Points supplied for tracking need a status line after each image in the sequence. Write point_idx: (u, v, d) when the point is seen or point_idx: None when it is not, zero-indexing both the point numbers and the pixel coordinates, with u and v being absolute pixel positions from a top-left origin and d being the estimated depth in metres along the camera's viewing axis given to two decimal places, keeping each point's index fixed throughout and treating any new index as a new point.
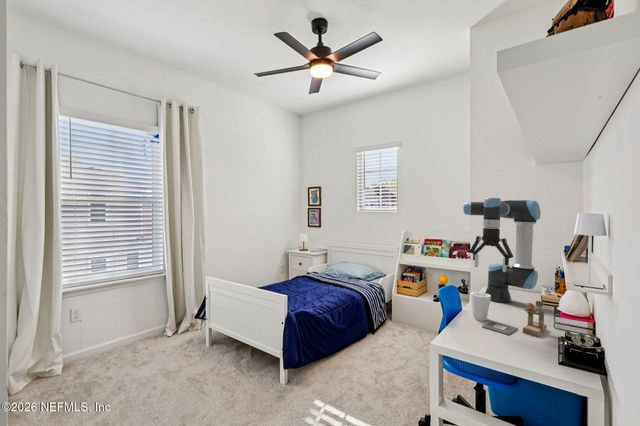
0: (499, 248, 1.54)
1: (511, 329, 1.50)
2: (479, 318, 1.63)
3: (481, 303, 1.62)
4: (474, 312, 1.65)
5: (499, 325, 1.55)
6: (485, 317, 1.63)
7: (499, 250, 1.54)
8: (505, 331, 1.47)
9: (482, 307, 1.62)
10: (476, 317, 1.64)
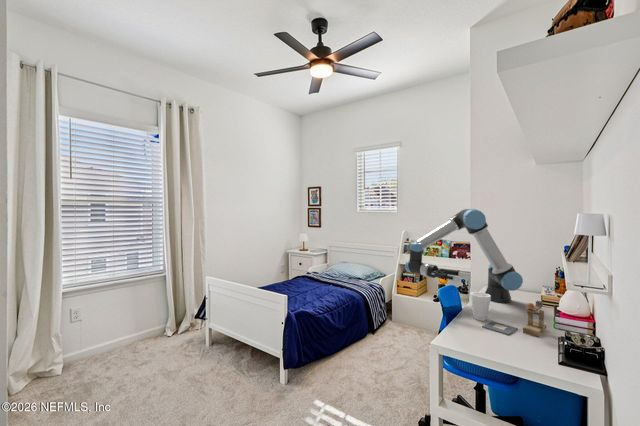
0: None
1: (511, 329, 1.50)
2: (479, 318, 1.63)
3: (481, 303, 1.62)
4: (474, 312, 1.65)
5: (499, 325, 1.55)
6: (485, 317, 1.63)
7: None
8: (505, 331, 1.47)
9: (482, 307, 1.62)
10: (476, 317, 1.64)
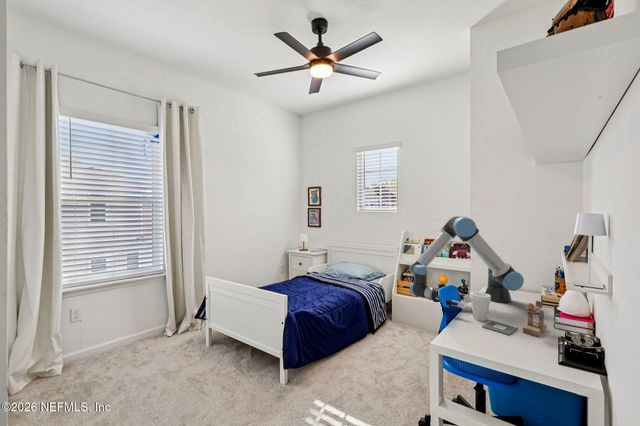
0: None
1: (511, 329, 1.50)
2: (479, 318, 1.63)
3: (481, 303, 1.62)
4: (474, 312, 1.65)
5: (499, 325, 1.55)
6: (485, 317, 1.63)
7: None
8: (505, 331, 1.47)
9: (482, 307, 1.62)
10: (476, 317, 1.64)
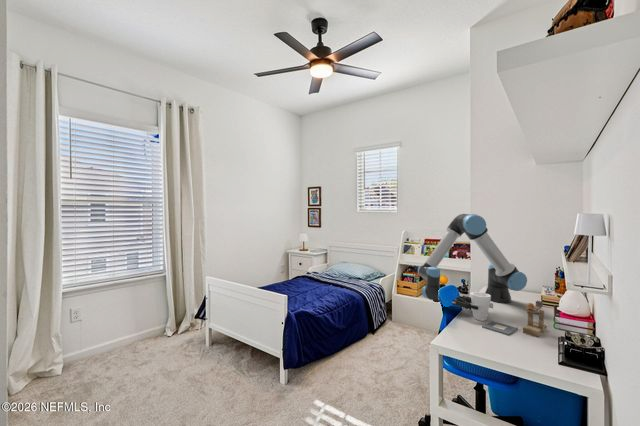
0: None
1: (511, 329, 1.50)
2: (479, 318, 1.63)
3: (481, 303, 1.62)
4: (474, 312, 1.65)
5: (499, 325, 1.55)
6: (485, 317, 1.63)
7: None
8: (505, 331, 1.47)
9: None
10: (476, 317, 1.64)
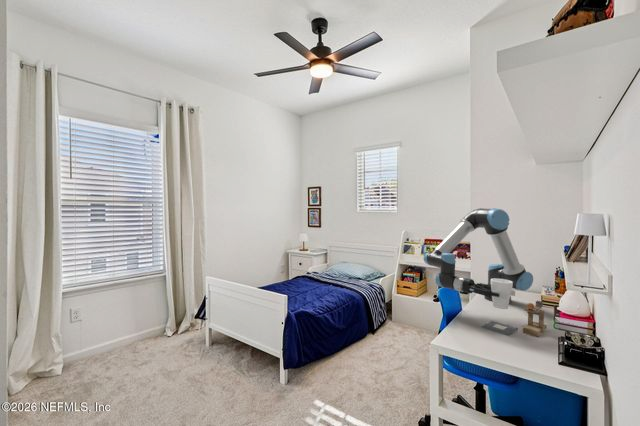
0: None
1: (511, 329, 1.50)
2: (500, 306, 1.50)
3: (502, 290, 1.48)
4: (494, 300, 1.52)
5: (499, 325, 1.55)
6: (506, 305, 1.49)
7: None
8: (505, 331, 1.47)
9: None
10: (497, 305, 1.51)
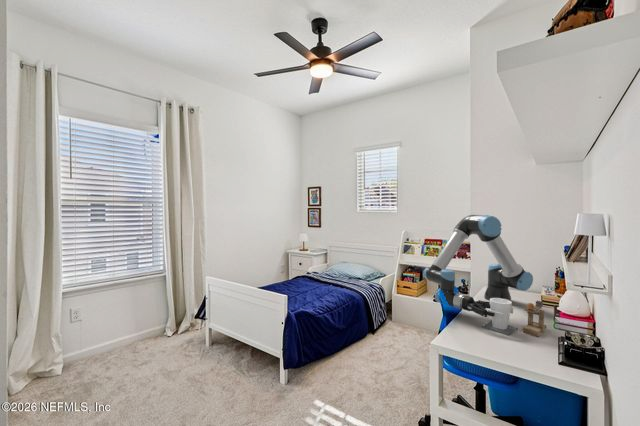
0: None
1: (511, 329, 1.50)
2: (499, 326, 1.50)
3: (501, 310, 1.49)
4: (494, 320, 1.52)
5: None
6: (506, 325, 1.50)
7: None
8: (505, 331, 1.47)
9: (503, 315, 1.49)
10: (496, 325, 1.51)
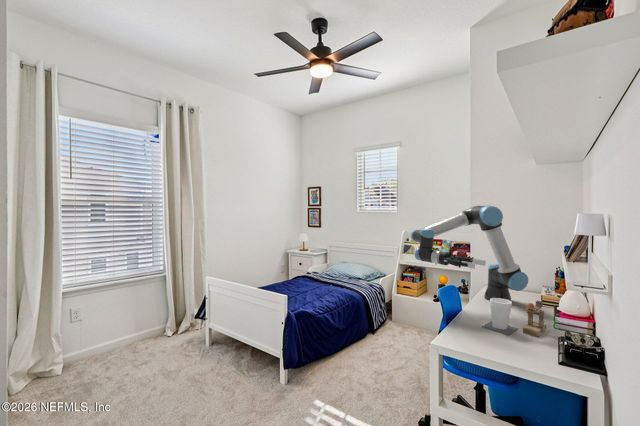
0: (454, 263, 1.66)
1: (511, 329, 1.50)
2: (499, 326, 1.50)
3: (501, 310, 1.49)
4: (494, 320, 1.52)
5: None
6: (506, 325, 1.50)
7: (456, 264, 1.65)
8: (505, 331, 1.47)
9: (503, 315, 1.49)
10: (496, 325, 1.51)
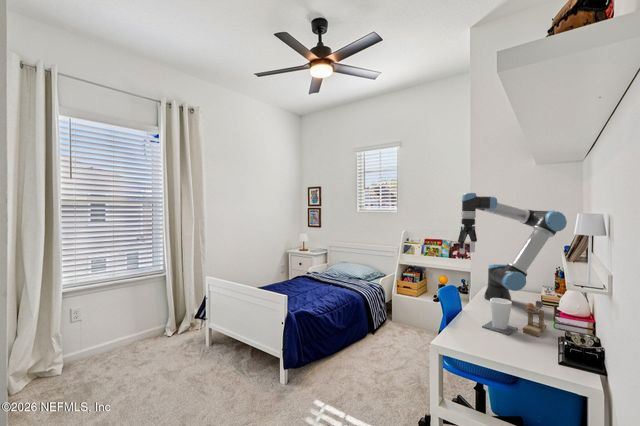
0: None
1: (511, 329, 1.50)
2: (499, 326, 1.50)
3: (501, 310, 1.49)
4: (494, 320, 1.52)
5: None
6: (506, 325, 1.50)
7: None
8: (505, 331, 1.47)
9: (503, 315, 1.49)
10: (496, 325, 1.51)
